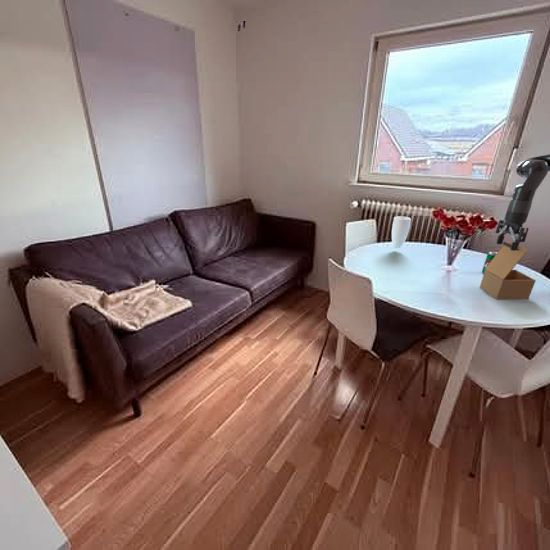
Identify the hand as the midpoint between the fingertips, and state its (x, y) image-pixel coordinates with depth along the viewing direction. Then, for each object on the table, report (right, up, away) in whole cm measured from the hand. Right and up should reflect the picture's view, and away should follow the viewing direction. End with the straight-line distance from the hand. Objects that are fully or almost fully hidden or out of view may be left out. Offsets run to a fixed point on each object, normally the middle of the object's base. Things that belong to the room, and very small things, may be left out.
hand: (505, 247), depth 137 cm
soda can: (+13, -12, +31) cm, 35 cm away
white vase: (-25, +2, +61) cm, 65 cm away
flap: (+2, -6, +3) cm, 7 cm away
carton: (+6, -21, +10) cm, 24 cm away
